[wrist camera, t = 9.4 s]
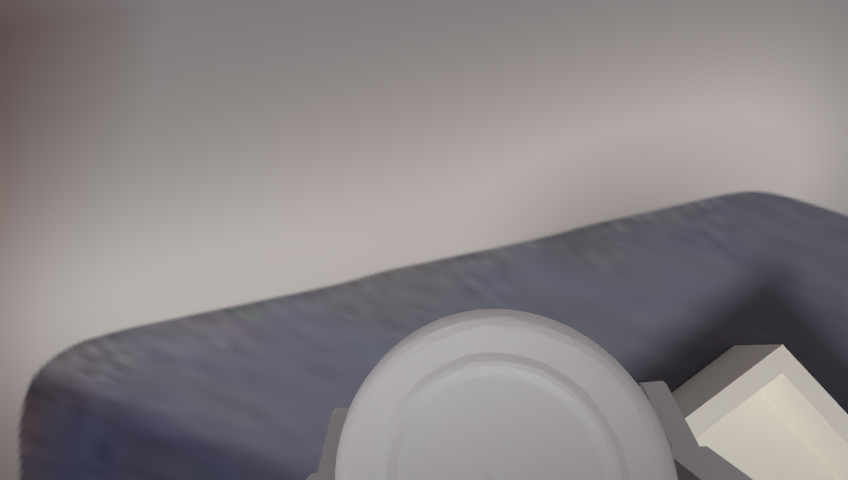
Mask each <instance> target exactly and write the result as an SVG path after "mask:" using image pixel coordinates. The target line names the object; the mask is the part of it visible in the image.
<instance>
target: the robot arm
mask: <svg viewBox="0 0 848 480" xmlns="http://www.w3.org/2000/svg"><path fill="white" fill-rule="evenodd" d="M636 383H637V382H636ZM637 384H638V385H639V387H640V388H641V390H642V391H643V393H644V394H645V396H646V397H647V399H648V400H649V402H650V403H651V405H652V407H653V408H654V410H655V412H656V414H657V416H658V418H659V420H660V422H661V424H662V426H663V429H664V431H665V434H666V437H667V439H668V442H669V445H670V448H671V451H672V455H673V459H674V463H675V467H676V472H677V477H678V480H753V479H751V478H750V477H749V476H747V475H746V474H745V473H743V472H742V471H740V470H739V469H738V468H736V467H735V466H734V465H732V464H731V463H730V462H728V461H727V460H725V459H724V458H723V457H721V456H720V455H719V454H717V453H716V452H714V451H713V450H712V449H710V448H709V447H708V446H699V444H698V443H697V441H696V439H695V437H694V435H693V433H692V431H691V429H690V427H689V426H688V424H687V422H686V420H685V418H684V416H683V414H682V412H681V410H680V408H679V407H678V405H677V403H676V401H675V399H674V397H673V395H672V393H671V391H670V390H669V388H668V386H667V384H666V383H665V382H663V381H654V382H642V383H637ZM349 408H350V407H342V408H335V409H334V410H333V412H332V414H331V417H330V421H329V425H328V430H327V434H326V438H325V442H324V446H323V451H322V455H321V459H320V463H319V467H318V472H317V473H312V474H310V475H309V476H308V478H307V479H306V480H335V466H336V456H337V450H338V445H339V441H340V436H341V432H342V429H343V426H344V422H345V419H346V416H347V414H348V411H349Z"/></svg>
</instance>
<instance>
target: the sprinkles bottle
mask: <svg viewBox="0 0 848 480" xmlns="http://www.w3.org/2000/svg"><path fill="white" fill-rule="evenodd" d="M335 480H678V477H677V472H676V467H675V463H674V459H673V455H672V451H671V448H670V445H669V442H668V439H667V437H666V434H665V431H664V429H663V426H662V424H661V422H660V420H659V418H658V416H657V414H656V412H655V410H654V408H653V407H652V405H651V403H650V402H649V400H648V399H647V397H646V396H645V394H644V393H643V391H642V390H641V388H640V387H639V385H638V384H637V383H636V382H635V380H634V379H633V378H632V377H631V376H630V375H629V373H628V372H627V371H626V370H625V369H624V368H623V367H622V366H621V365H620V363H619V362H618V361H617V360H616V359H615V358H613V357H612V356H611V355H610V354H609V353H608V352H606V351H605V350H604V349H603V348H601V347H600V346H599V345H598V344H596V343H595V342H594V341H592V340H591V339H589V338H588V337H586V336H584V335H583V334H581V333H579V332H578V331H576V330H574V329H573V328H571V327H569V326H567V325H564V324H562V323H560V322H558V321H555V320H552V319H550V318H547V317H543V316H540V315H536V314H532V313H528V312H522V311H517V310H507V309H483V310H472V311H466V312H462V313H458V314H454V315H450V316H446V317H443V318H441V319H438V320H436V321H433V322H431V323H429V324H427V325H425V326H423V327H422V328H420V329H418V330H416V331H415V332H413V333H411V334H410V335H408V336H407V337H406V338H404V339H403V340H401V341H400V342H399V343H398V344H397V345H396V346H394V347H393V348H392V349H391V350H390V351H389V352H388V353H387V354H386V355H385V356H384V357H383V358H382V359H381V360H380V361H379V362H378V363H377V365H376V366H375V367H374V368H373V369H372V371H371V372H370V373H369V375H368V376H367V378H366V379H365V381H364V382H363V384H362V386H361V387H360V389H359V391H358V392H357V394H356V396H355V398H354V400H353V402H352V404H351V406H350V408H349V411H348V414H347V416H346V419H345V422H344V426H343V429H342V432H341V436H340V441H339V445H338V450H337V456H336V466H335Z"/></svg>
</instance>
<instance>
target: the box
mask: <svg viewBox="0 0 848 480" xmlns="http://www.w3.org/2000/svg"><path fill="white" fill-rule="evenodd" d="M672 395H673V397H674V399H675V401H676V403H677V405H678V407H679V408H680V410H681V412H682V414H683V416H684V418H685V420H686V422H687V424H688V426H689V427H690V429H691V431H692V433H693V435H694V437H695V439H696V441H697V443H698V444H699V446H708V447H709V448H710V449H712V450H713V451H714V452H716V453H717V454H719V455H720V456H721V457H723V458H724V459H725V460H727V461H728V462H730V463H731V464H732V465H734V466H735V467H736V468H738V469H739V470H740V471H742V472H743V473H745V474H746V475H747V476H749V477H750V478H751V479H753V480H848V414H847V413H846V412H845V411H844V410H843V409H842V408H841V407H840V406H839V405H838V403H837V402H836V401H835V400H834V399H833V398H832V397H831V396H830V395H829V394H828V393H827V392H826V391H825V389H824V388H823V387H822V386H821V385H820V384H819V383H818V382H817V381H816V380H815V379H814V378H813V377H812V375H811V374H810V373H809V372H808V371H807V370H806V369H805V368H804V367H803V366H802V365H801V364H800V363H799V362H798V360H797V359H796V358H795V357H794V356H793V355H792V354H791V353H790V352H789V351H788V350H787V349H786V348H785V346H784V345H783V344H780V345H734V346H733V347H731V348H730V349H729V350H727V351H726V352H725V353H723V354H722V355H721V356H719V357H718V358H717V359H715V360H714V361H713V362H711V363H710V364H709V365H707V366H706V367H705V368H703V369H702V370H701V371H699V372H698V373H697V374H695V375H694V376H693V377H691V378H690V379H689V380H688V381H686V382H685V383H684V384H682V385H681V386H680V387H678V388H677V389H676V390H674V391H673V392H672Z"/></svg>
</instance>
